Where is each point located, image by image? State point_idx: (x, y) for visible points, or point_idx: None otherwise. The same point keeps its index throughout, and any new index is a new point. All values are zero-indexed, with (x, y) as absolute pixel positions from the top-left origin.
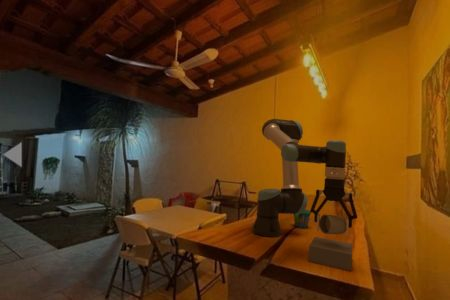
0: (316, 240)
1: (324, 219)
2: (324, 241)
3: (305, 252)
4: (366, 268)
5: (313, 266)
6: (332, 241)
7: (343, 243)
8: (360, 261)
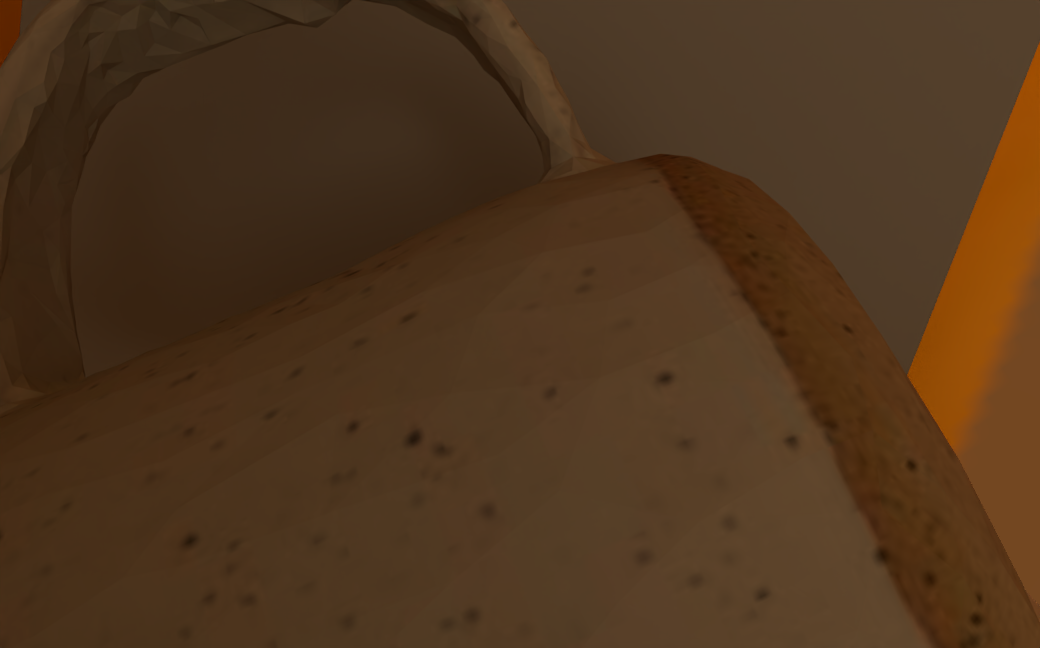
0: (110, 148)
1: (18, 546)
2: (318, 144)
3: (11, 40)
4: (977, 402)
5: None
6: (539, 33)
7: (806, 90)
8: (1016, 102)
